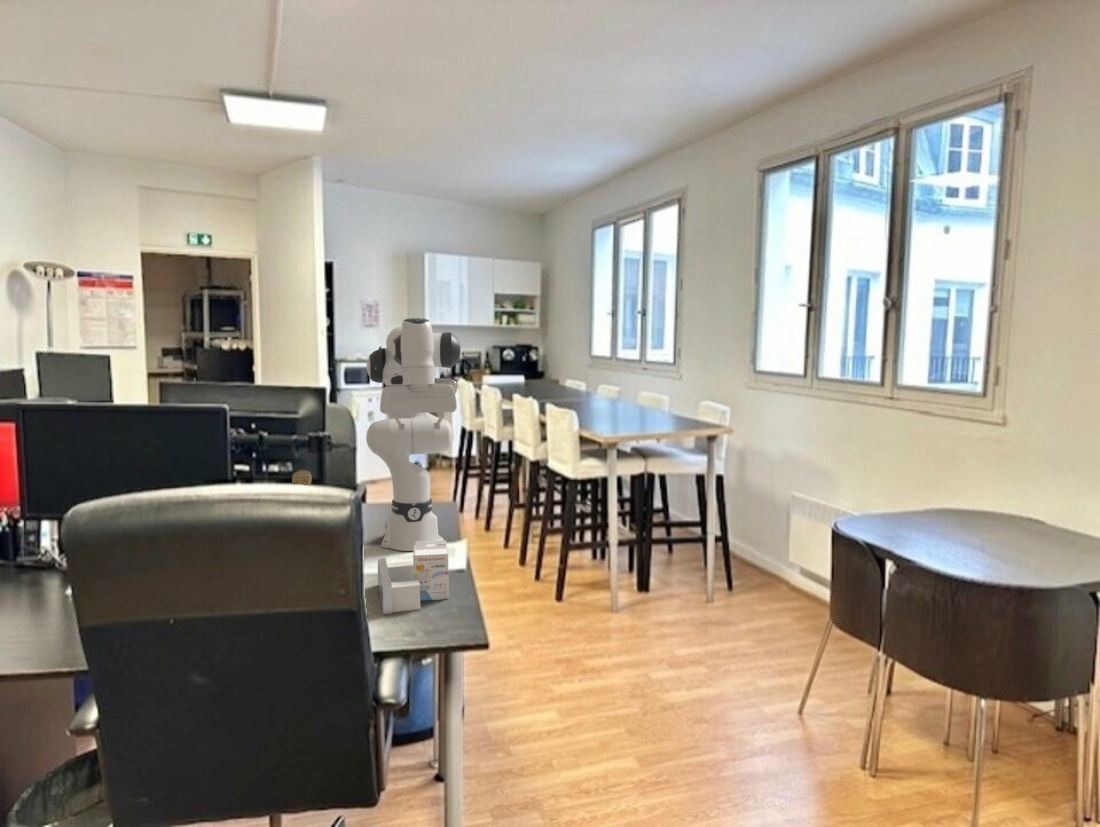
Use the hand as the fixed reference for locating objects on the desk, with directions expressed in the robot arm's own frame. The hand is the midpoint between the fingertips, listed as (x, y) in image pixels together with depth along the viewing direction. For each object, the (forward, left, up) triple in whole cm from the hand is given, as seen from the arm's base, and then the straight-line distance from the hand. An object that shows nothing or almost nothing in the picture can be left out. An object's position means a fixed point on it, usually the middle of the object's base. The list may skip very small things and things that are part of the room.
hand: (419, 430), depth 194 cm
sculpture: (+3, -30, -39) cm, 49 cm away
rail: (+19, -11, -39) cm, 45 cm away
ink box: (+19, 0, -39) cm, 43 cm away
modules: (+19, -7, -39) cm, 44 cm away
